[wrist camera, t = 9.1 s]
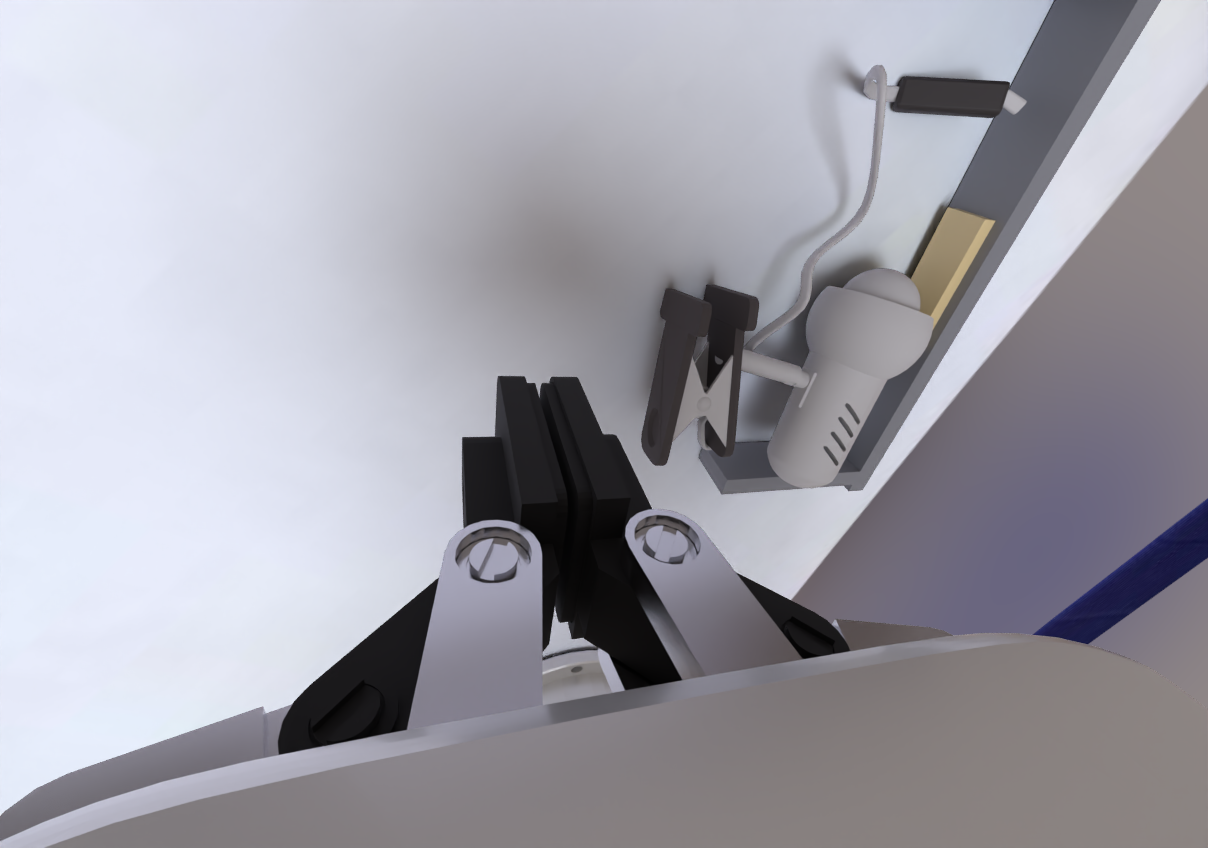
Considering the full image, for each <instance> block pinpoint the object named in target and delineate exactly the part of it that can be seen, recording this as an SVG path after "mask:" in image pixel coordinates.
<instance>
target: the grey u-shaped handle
mask: <svg viewBox="0 0 1208 848" xmlns="http://www.w3.org/2000/svg"><path fill="white" fill-rule="evenodd" d="M1160 1H1161V0H1055V2H1054V4H1053V6H1052V8H1051V10H1050V11H1049V13H1048V15H1047V17H1046V19H1045V21H1044V23H1043V25H1042V27H1041V29H1040V31H1039V33H1038V35H1037V37H1036V39H1035V40H1034V42H1033V44H1032V46H1031V48H1030V50H1029V52H1028V54H1027V56H1026V58H1025V60H1024V62H1023V64H1022V66H1021V68H1020V70H1019V71H1018V73H1017V75H1016V77H1015V79H1014V81H1013V83H1012V85H1011V87H1010V89H1009V90H1011V91H1013V92H1014V93H1016V94H1017V95H1019V96H1020V97H1022V98H1023V99H1025V100H1026V101H1027V102H1026V104H1025V105H1024V106H1023V107H1022V108H1021V109H1020V110H1019V112H1017V113H1016V114H1014V115H1013V114H1011V113H1010V112H1009V111H1007V110H1006V109H1004V108H1002V111H1001V112H1000V114H999V115H998V116H996V117H995V118H994V120H993V122H992V124H991V126H990V128H989V130H988V131H987V133H986V135H985V137H984V139H983V141H982V143H981V145H980V147H979V149H978V151H977V153H976V155H975V157H974V159H973V160H972V162H971V164H970V166H969V168H968V170H967V172H966V174H965V176H964V178H963V180H962V182H961V184H960V186H959V188H958V190H957V191H956V193H955V195H954V197H953V199H952V201H951V203H950V205H949V207H948V208H947V210H946V212H945V213H944V215H943V217H942V219H941V221H940V223H939V225H938V227H937V229H936V231H935V233H934V235H933V237H932V239H931V241H930V243H929V244H928V246H927V248H926V250H925V252H924V254H923V256H922V258H921V260H920V262H919V264H918V266H917V268H916V270H915V272H914V274H913V275H912V277H911V280H912V281H913V283H914V284H915V285H916V287H917V289H918V292H919V294H920V311H919V312H922V313H924V314H926V315H929V316H930V317H932V318H934V321H933V331H932V335H931V338H930V341H929V343H928V345H927V347H926V349H925V351H924V352H923V354H922V355H921V356H920V357H919V359H918V360H917V361H916V362H915V363H914V364H913V365H912V366H910V367H909V368H908V369H907V370H905V371H904V372H902V373H901V374H899V375H897V376H895V377H893V378H890V379H888V380H887V381H886V383H885V385H884V387H883V389H882V391H881V393H880V395H879V396H878V398H877V400H876V402H875V404H874V406H873V408H872V410H871V412H870V413H869V415H868V417H867V419H866V421H865V423H864V425H863V427H862V428H861V430H860V432H859V434H858V436H857V438H856V440H855V442H854V444H853V445H852V447H851V449H850V451H849V453H848V455H847V457H846V459H845V460H844V462H843V464H842V466H841V468H840V470H839V472H838V474H837V475H836V477H835V478H834V480H833V481H832V482H830V483H829V484H827V485H824V486H821V487H829V486H843V485H844V487H845V488H846V489H847V490H848V491H857V490H863V489H864V487H865V485H866V484H867V482H868V480H869V479H870V477H871V475H872V474H873V472H874V470H875V469H876V467H877V466H878V464H879V462H880V461H881V459H882V457H883V456H884V454H885V452H886V451H887V449H888V447H889V446H890V444H891V443H892V441H893V439H894V438H895V436H896V434H897V433H898V431H899V429H900V428H901V426H902V425H903V423H904V421H905V420H906V418H907V416H908V415H909V413H910V411H911V410H912V408H913V406H914V405H915V403H916V402H917V400H918V398H919V397H920V395H921V393H922V392H923V390H924V388H925V387H926V385H927V383H928V382H929V380H930V379H931V377H932V375H933V374H934V372H935V370H936V369H937V367H938V365H939V364H940V362H941V361H942V359H943V357H944V356H945V354H946V352H947V351H948V349H949V347H950V346H951V344H952V342H953V341H954V339H955V338H956V336H957V334H958V333H959V331H960V329H961V328H962V326H963V324H964V323H965V321H966V319H967V318H968V316H969V315H970V313H971V311H972V310H973V308H974V306H975V305H976V303H977V301H978V300H979V298H980V297H981V295H982V293H983V292H984V290H985V288H986V287H987V285H988V283H989V282H990V280H991V278H992V277H993V275H994V274H995V272H996V270H997V269H998V267H999V265H1000V264H1001V262H1002V260H1003V259H1004V257H1005V255H1006V254H1007V252H1008V251H1009V249H1010V247H1011V246H1012V244H1013V242H1014V241H1015V239H1016V237H1017V236H1018V234H1019V233H1020V231H1021V229H1022V228H1023V226H1024V224H1025V223H1026V221H1027V219H1028V218H1029V216H1030V214H1031V213H1032V211H1033V210H1034V208H1035V206H1036V205H1037V203H1038V201H1039V200H1040V198H1041V196H1042V195H1043V193H1044V191H1045V190H1046V188H1047V187H1048V185H1049V183H1050V182H1051V180H1052V178H1053V177H1054V175H1055V173H1056V172H1057V170H1058V168H1059V167H1060V165H1061V164H1062V162H1063V160H1064V159H1065V157H1066V155H1067V154H1068V152H1069V150H1070V149H1071V147H1072V146H1073V144H1074V142H1075V141H1076V139H1077V137H1078V136H1079V134H1080V132H1081V131H1082V129H1083V127H1084V126H1085V124H1086V123H1087V121H1088V119H1089V118H1090V116H1091V114H1092V113H1093V111H1094V109H1095V108H1096V106H1097V104H1098V103H1099V101H1100V100H1101V98H1102V96H1103V95H1104V93H1105V91H1106V90H1107V88H1108V86H1109V85H1110V83H1111V82H1112V80H1113V78H1114V77H1115V75H1116V73H1117V72H1118V70H1119V68H1120V67H1121V65H1122V63H1123V62H1124V60H1125V59H1126V57H1127V55H1128V54H1129V52H1130V50H1131V49H1132V47H1133V45H1134V44H1135V42H1136V40H1137V39H1138V37H1139V36H1140V34H1141V32H1142V31H1143V29H1144V27H1145V26H1146V24H1147V22H1148V21H1149V19H1150V18H1151V16H1152V14H1153V13H1154V11H1155V9H1156V8H1157V6H1158V4H1159V3H1160ZM768 445H769V442H744V443H735V447H734V451H733V454H732V455H731V456H730V457H720V456H718V455H717V454H716V453H715V452H714V451H713V450H705V449H704V448H702V450H701V453H700V456H699V459H700V460H701V462H702V464H703V465H704V467H705V469H706V470H707V472H708V473H709V475H710V477H711V478H712V480H713V481H714V483H715V485H716V486H717V488H718V489H719V491H720V493H721V494H734V493H747V492H761V491H775V490H788V489H802V488H801V487H796V486H793V485H791V484H789V483H787V482H785V481H784V480H782V479H781V478H780V477H779V476H778V475H777V474H776V473H775V472H774V470H773V469H772V467H771V465H770V462H769V459H768V455H767V448H768Z"/></svg>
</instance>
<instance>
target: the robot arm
mask: <svg viewBox="0 0 1208 848" xmlns="http://www.w3.org/2000/svg"><path fill="white" fill-rule="evenodd" d="M462 494H463V525H464V529H462V530H460V531H458V532H457V533H456V534H455V536H454V537H453V538H452V539H451V540H450V541H449V543H448V545H447V548H446V550H445V552H444V557H443V562H442V567H441V571H440V576H439V578H438V579H436V580H435V581H434V582H433V583H432V584H430V585H429V586H428V587H427V588H426V589H424V590H423V591H422V592H421V593H420V594H418V595H417V596H416V597H415V598H414V599H412V600H411V601H410V602H409V603H408V604H407V605H405V606H404V607H403V608H402V609H401V610H399V611H398V612H397V613H396V614H395V615H393V616H392V617H391V618H390V619H389V620H387V621H386V622H385V623H384V624H383V625H381V626H380V627H379V628H378V629H377V630H375V631H374V632H373V633H372V634H371V635H369V636H368V637H367V638H366V639H365V640H363V641H362V642H361V643H360V644H359V645H357V646H356V647H355V648H354V649H353V650H351V651H350V652H349V653H348V654H347V655H345V656H344V657H343V658H342V659H341V660H339V661H338V662H337V663H336V664H335V665H334V666H332V667H331V668H330V669H329V670H328V671H326V672H325V673H324V674H323V675H322V676H320V677H319V678H318V679H317V680H316V681H314V682H313V683H312V684H311V685H310V686H309V687H308V688H307V689H306V690H305V691H304V692H303V693H302V694H301V695H300V696H299V697H298V698H297V699H296V700H295V701H294V703H293V704H292V705H289V706H286V707H284V708H281V709H278V710H275V711H272V712H269V713H265V710H264V707H260V708H257V709H254V710H251V711H248V712H245V713H242V714H239V715H237V716H234V717H231V718H228V719H225V720H222V721H219V722H216V723H213V724H210V725H208V726H205V727H202V728H199V729H196V730H193V731H190V732H187V733H184V734H181V735H179V736H176V737H173V738H170V739H167V740H164V741H161V742H158V743H155V744H152V745H150V746H147V747H144V748H141V749H138V750H135V751H132V752H129V753H126V754H123V755H121V756H118V757H115V758H112V759H109V760H106V761H103V762H100V763H97V764H94V765H92V766H89V767H86V768H83V769H80V770H77V771H74V772H71V773H68V774H66V775H64V776H62V777H60V778H58V779H55V780H53V781H51V782H49V783H47V784H45V785H43V786H41V787H39V788H36V789H35V790H33V791H32V792H31V793H29V794H28V795H27V796H25V797H24V798H23V799H21V800H20V801H18V802H17V803H16V804H14V805H13V806H12V807H10V808H9V809H7V810H6V811H5V812H4V813H3V814H2V815H1V816H0V848H1208V709H1207V708H1206V707H1204V706H1203V705H1202V704H1201V703H1199V702H1198V701H1197V700H1195V699H1194V698H1192V697H1191V696H1190V695H1189V694H1187V693H1186V692H1185V691H1183V690H1182V689H1180V688H1179V687H1178V686H1177V685H1175V684H1173V683H1172V682H1171V681H1169V680H1168V679H1166V678H1165V677H1163V676H1162V675H1161V674H1159V673H1157V672H1156V671H1154V670H1153V669H1151V668H1149V667H1147V666H1145V665H1143V664H1141V663H1139V662H1137V661H1135V660H1132V659H1130V658H1127V657H1125V656H1122V655H1120V654H1117V653H1114V652H1111V651H1108V650H1104V649H1102V648H1099V647H1095V646H1091V645H1087V644H1083V643H1078V642H1074V641H1070V640H1065V639H1061V638H1055V637H1046V636H1037V635H1028V634H1019V633H980V634H969V635H957V636H953V635H951V634H949V633H947V632H945V631H942V630H938V629H935V628H930V627H919V626H908V625H897V624H886V623H875V622H862V621H852V620H841V619H835V621H834V623H833V624H832V625H831V624H830V623H829V622H828V621H827V620H826V619H824V618H822V617H821V616H819V615H818V614H816V613H815V612H813V611H811V610H808V609H807V608H805V607H802V606H801V605H799V604H797V603H795V602H793V601H791V600H789V599H787V598H785V597H783V596H781V595H779V594H777V593H775V592H773V591H771V590H769V589H767V588H765V587H764V586H762V585H760V584H758V583H756V582H754V581H752V580H750V579H748V578H746V577H744V576H742V575H740V574H738V573H736V572H735V571H734V570H733V568H732V567H731V566H730V564H729V563H728V562H727V561H726V559H725V558H724V557H723V555H722V554H721V553H720V552H719V550H718V549H717V548H716V546H715V545H714V544H713V542H712V541H711V540H710V539H709V537H708V536H707V535H706V533H705V532H704V531H703V530H702V529H701V528H700V527H699V526H698V525H697V524H696V523H695V522H694V521H692V520H691V519H689V518H687V517H686V516H684V515H682V514H679V513H676V512H674V511H670V510H663V509H652V508H651V506H650V504H649V502H648V500H647V497H646V495H645V493H644V491H643V489H642V487H641V485H640V483H639V481H638V479H637V477H636V475H635V472H634V470H633V468H632V466H631V464H630V462H629V460H628V458H627V456H626V454H625V452H624V450H623V448H622V445H621V443H620V441H619V439H618V438H617V436H616V435H613V434H605V435H603V433H602V431H601V429H600V427H599V424H598V422H597V420H596V418H595V415H594V413H593V411H592V409H591V406H590V404H589V402H588V400H587V397H586V395H585V393H584V391H583V388H582V386H581V384H580V382H579V379H578V378H577V377H551V379H550V383H542V384H541V389H540V399H539V395H538V392H537V389H536V385H535V383H527V382H526V379H525V377H524V376H498V380H497V400H496V424H495V437H462ZM554 607H555V608H556V613H557V618H558V621H559V622H560V623H561V622H568V625H569V629H570V633H571V638H572V639H577V638H584V639H586V640H587V641H589V642H590V643H592V644H593V645H595V646H597V647H598V650H585V651H577V652H571V653H566V654H562V655H558V656H554V657H551V658H549V659H546V660H543V661H542V652H543V651H544V650H545V648H546V647H547V646H548V645H549V641H550V634H551V627H552V620H553V613H554Z"/></svg>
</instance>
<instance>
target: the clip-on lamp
mask: <svg viewBox="0 0 1208 848" xmlns="http://www.w3.org/2000/svg"><path fill="white" fill-rule="evenodd" d="M873 80H876V82H877V83H875V82H874V81H873ZM1009 86H1010V83H1009V82H1006V81H987V80H968V79H949V78H930V77H911V76H906V77H904V78H902V80H901V81H900V83H899V86H887V74H886V72H885V69H884V67H883V66H882V65H876V66H874V67H873V68H872V69H871V70H870V71H869V72H868V74H867V76H866V79H865V83H864V93H865V94H866V96H867V97H868V98H869V99H873V100H876V113H875V124H874V136H873V149H872V160H871V169H870V176H869V181H868V186H867V191H866V194H865V197H864V200H863V202H862V205H861V207H860V208H859V210H858V211H857V213H856V215H855V216H854V217H853V218H852V220H851V221H850V222H849V223H848V224H847V225H846V226H845V227H844V228H842V229H841V230H840V231H839V232H838V233H836V234H835V235H834V236H833V237H831V238H830V239H829V240H828V241H826V242H825V243H824V244H823V245H821V246H820V247H819V248H818V249H817V250H816V251H815V252H814V253H813V254H812V255H811V256H810V257H809V258H808V260H807V261H806V263H805V264H804V267H803V270H802V274H801V290H800V296H799V298H798V300H797V302H796V304H795V305H794V306H793V307H792V308H791V309H790V310H789V311H787V312H786V313H785V314H783V315H782V316H780V317H779V318H778V319H776V320H775V321H773V322H772V323H770V324H769V325H767V326H766V327H765V328H763V329H762V330H761V331H760V332H758V333H757V334H756V335H755V336H754V337H753V338H752V339H751V340H750V341H749V342H748V343H747V344H746V346H745V347H744V348H743V343H744V331H753V330H754V329H755V328H756V324H757V317H758V310H759V301H758V299H757V298H756V297H754V296H750V295H747V294H744V293H740V292H737V291H734V290H730V289H727V288H724V287H720V286H717V285H706V289H705V294H704V299H703V300H701V299H698V298H696V297H693V296H690V295H688V294H685V293H683V292H680V291H677V290H675V289H666V290H665V294H664V298H663V302H662V306H661V310H660V315H661V318H662V319H664V320H666V322H665V327H664V331H663V336H662V341H661V346H660V350H659V355H658V360H657V364H656V369H655V374H654V379H653V383H652V388H651V393H650V397H649V402H648V407H647V412H646V416H645V421H644V426H643V430H642V438H641V442H642V448H643V451H644V452H645V454H646V455H647V457H648V458H649V459H650V461H651V462H652V463H653V464H654V465H656V466H664V465H665V464H666V463H667V460H668V457H669V453H670V449H671V445H672V442H673V441H674V440H675V439H676V438H677V437H678V436H679V435H680V434H681V433H682V432H683V430H684V429H685V428H686V427H687V426H688V425H689V424H690V423H691V422H692V421H693V420H694V419H695V418H698V419H699V420H698V432H697V435H698V441H699V444H700V445H701V447H702V448H704V449H705V450H713V451H714V452H715V453H716V454H717V455H718V456H720V457H730V456H731V455H732V454H733V451H734V447H735V436H736V424H737V413H738V401H739V389H740V378H741V371H744V372H747V373H751V374H754V375H758V376H761V377H765V378H768V379H772V380H775V381H779V382H780V383H784V384H787V385H791V386H794V388H793V390H792V393H791V395H790V397H789V399H788V402H787V404H786V406H785V408H784V411H783V413H782V415H781V418H780V420H779V422H778V424H777V427H776V429H775V431H774V433H773V436H772V438H771V440H770V442H769V445H768V448H767V455H768V459H769V462H770V465H771V467H772V469H773V470H774V472H775V473H776V474H777V475H778V476H779V477H780V478H781V479H782V480H784V481H785V482H787V483H789V484H791V485H793V486H796V487H801V488H816V487H821V486H824V485H827V484H829V483H830V482H832V481H833V480H834V478H835V477H836V475H837V474H838V472H839V470H840V468H841V466H842V464H843V462H844V460H845V459H846V457H847V455H848V453H849V451H850V449H851V447H852V445H853V444H854V442H855V440H856V438H857V436H858V434H859V432H860V430H861V428H862V427H863V425H864V423H865V421H866V419H867V417H868V415H869V413H870V412H871V410H872V408H873V406H874V404H875V402H876V400H877V398H878V396H879V395H880V393H881V391H882V389H883V387H884V385H885V383H886V381H887V380H888V379H890V378H893V377H895V376H897V375H899V374H901V373H902V372H904V371H905V370H907V369H908V368H909V367H910V366H912V365H913V364H914V363H915V362H916V361H917V360H918V359H919V357H920V356H921V355H922V354H923V352H924V351H925V349H926V347H927V345H928V343H929V341H930V338H931V335H932V331H933V321H934V318H932V317H930V316H929V315H926V314H924V313H922V312H919V311H920V294H919V292H918V289H917V287H916V285H915V284H914V283H913V281H912V280H911V279H910V278H908V277H907V276H906V275H905V274H903V273H901V272H899V271H896V270H892V269H884V268H880V269H873V270H868V271H865V272H863V273H860V274H859V275H857V276H855V277H854V278H852V279H851V280H850V281H849V282H848V283H847V284H846V285H845V286H844V287H843V288H840V287H835V286H827V287H826V288H825V289H824V290H823V291H822V292H821V293H820V294H819V296H818V297H817V298H816V300H815V301H814V303H813V305H812V307H811V309H810V312H809V314H808V317H807V323H806V339H807V344H808V347H809V350H810V352H809V354H808V356H807V359H806V361H805V363H804V366H803V368H802V369H801V367H800V366H798V365H794V364H791V363H788V362H784V361H781V360H778V359H775V358H771V357H768V356H765V355H762V354H758V353H755V352H752V351H753V350H754V349H755V348H756V347H757V346H758V345H759V344H760V343H761V342H763V341H764V340H765V339H766V338H768V337H769V336H770V335H771V334H773V333H774V332H776V331H777V330H779V329H780V328H782V327H783V326H784V325H786V324H787V323H789V322H790V321H792V320H793V319H794V318H796V317H797V316H798V315H799V314H800V313H801V312H802V311H803V310H804V309H805V307H806V306H807V304H808V302H809V300H810V296H811V291H812V277H813V270H814V267H815V264H816V263H817V261H818V260H819V258H820V257H821V256H822V255H823V254H824V253H825V252H826V251H827V250H829V249H830V248H831V247H832V246H834V245H835V244H836V243H838V242H839V241H840V240H842V239H843V238H844V237H846V236H847V235H848V234H849V233H850V232H852V231H853V230H854V229H855V228H856V227H857V226H858V225H859V224H860V222H861V221H862V220H863V218H864V216H865V215H866V213H867V212H868V210H869V207H870V204H871V202H872V199H873V196H874V192H875V187H876V182H877V178H878V170H879V163H880V155H881V145H882V136H883V126H884V117H885V106H886V102H894V104H893V111H895V112H904V113H920V114H936V115H952V116H968V117H984V118H993V117H996V116H998V115H999V114H1000V112H1001V111H1002V108H1004V109H1006V110H1007V111H1009V112H1010V113H1011V114H1013V115H1014V114H1016V113H1017V112H1019V110H1020V109H1021V108H1022V107H1023V106H1024V105H1025V104H1026V102H1027V101H1026V100H1025V99H1023V98H1022V97H1020V96H1019V95H1017V94H1016V93H1014V92H1013V91H1011V90H1009ZM707 332H708V338H707V343H706V345H705V346H704V348H703V350H702V351H701V353H700V354H699V356H698V357H697V359H696V360H695V362H694V359H693V352H694V348H695V343H696V339H697V336H698V337H705V336H706V335H707Z"/></svg>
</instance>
